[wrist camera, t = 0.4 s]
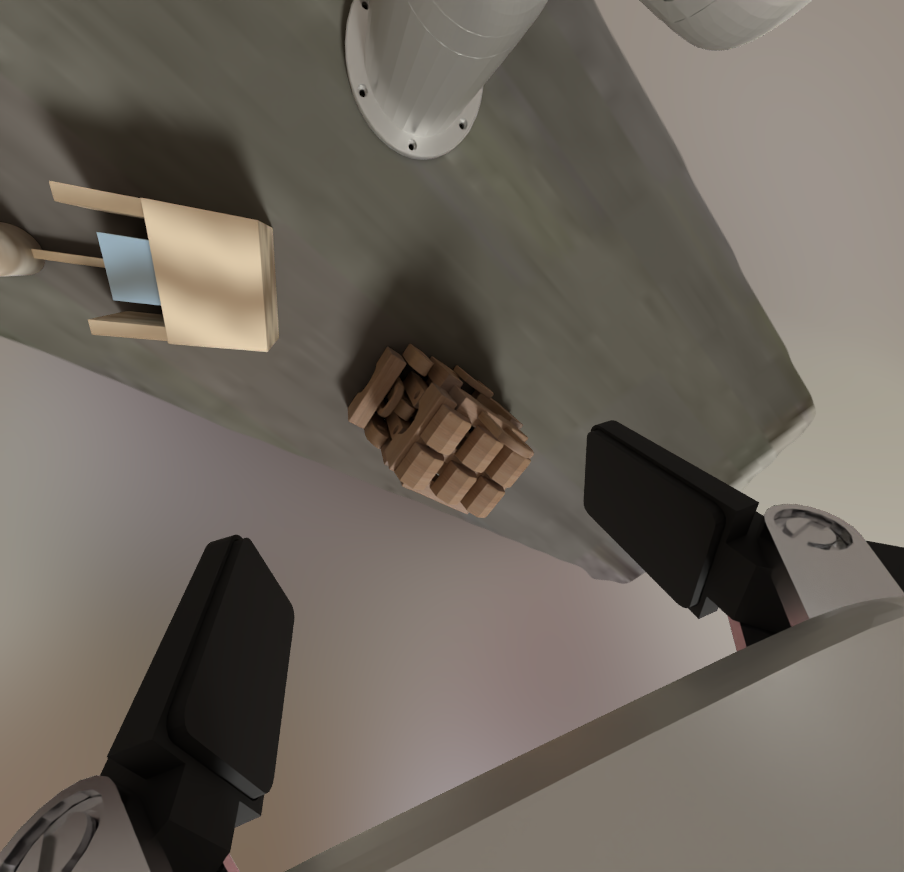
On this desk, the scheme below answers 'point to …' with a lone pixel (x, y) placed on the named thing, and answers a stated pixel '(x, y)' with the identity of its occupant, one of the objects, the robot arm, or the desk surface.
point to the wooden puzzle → (441, 432)
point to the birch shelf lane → (195, 274)
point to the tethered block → (87, 262)
